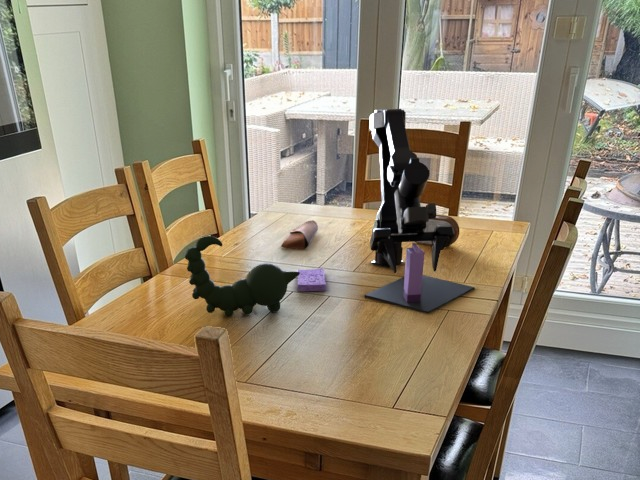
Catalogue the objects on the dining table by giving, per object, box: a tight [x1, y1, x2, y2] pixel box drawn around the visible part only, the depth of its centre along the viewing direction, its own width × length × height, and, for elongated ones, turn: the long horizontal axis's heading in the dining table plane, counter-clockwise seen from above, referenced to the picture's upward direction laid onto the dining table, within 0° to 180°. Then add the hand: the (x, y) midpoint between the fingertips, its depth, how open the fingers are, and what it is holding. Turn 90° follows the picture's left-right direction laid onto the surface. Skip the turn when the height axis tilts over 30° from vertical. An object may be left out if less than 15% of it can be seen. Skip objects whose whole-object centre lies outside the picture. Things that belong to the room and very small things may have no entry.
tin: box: [415, 214, 460, 247], centre depth 205 cm, size 15×3×8 cm, turn 58°
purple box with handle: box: [403, 242, 426, 302], centre depth 166 cm, size 5×3×12 cm
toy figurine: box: [184, 235, 300, 318], centre depth 162 cm, size 9×19×25 cm
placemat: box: [364, 274, 475, 315], centre depth 174 cm, size 18×21×1 cm
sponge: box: [297, 268, 327, 292], centre depth 182 cm, size 7×13×2 cm, turn 179°
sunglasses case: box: [280, 219, 319, 251], centre depth 213 cm, size 18×7×7 cm
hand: (415, 271), depth 165 cm, fingers open, 9 cm apart
